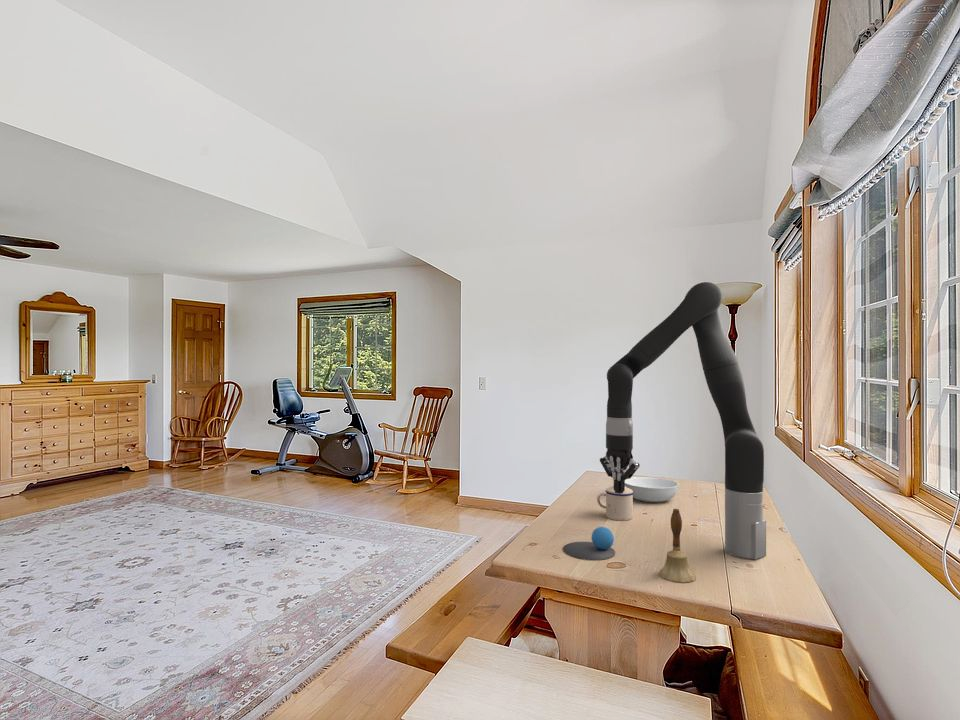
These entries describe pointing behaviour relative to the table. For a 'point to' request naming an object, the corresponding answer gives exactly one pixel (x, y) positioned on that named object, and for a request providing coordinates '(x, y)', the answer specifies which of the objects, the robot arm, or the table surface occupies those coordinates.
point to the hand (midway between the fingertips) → (619, 492)
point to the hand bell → (676, 556)
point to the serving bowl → (652, 488)
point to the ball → (602, 538)
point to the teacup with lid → (618, 504)
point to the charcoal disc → (587, 551)
